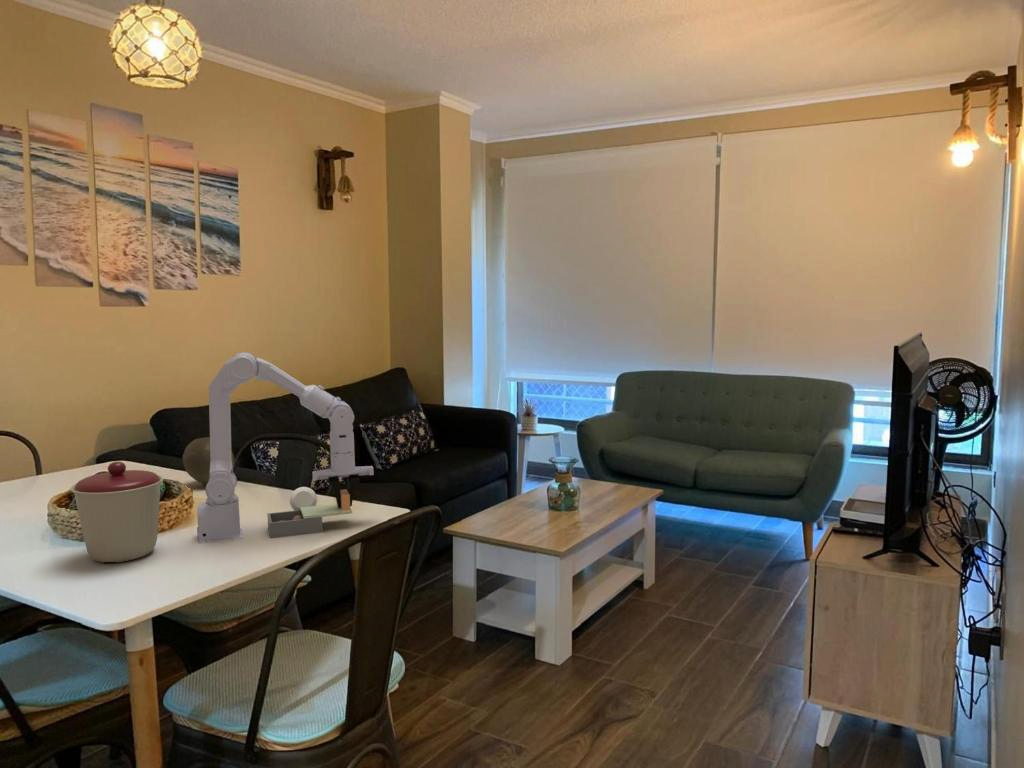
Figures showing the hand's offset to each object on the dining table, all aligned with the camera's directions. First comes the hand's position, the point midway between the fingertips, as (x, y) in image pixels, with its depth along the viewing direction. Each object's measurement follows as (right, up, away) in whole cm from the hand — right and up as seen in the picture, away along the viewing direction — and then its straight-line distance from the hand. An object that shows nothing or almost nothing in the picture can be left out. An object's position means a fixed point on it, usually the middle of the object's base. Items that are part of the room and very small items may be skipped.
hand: (344, 505), depth 189 cm
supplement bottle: (-14, -1, +14) cm, 19 cm away
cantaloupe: (-51, -1, +45) cm, 67 cm away
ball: (-11, -5, -2) cm, 12 cm away
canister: (-45, -8, -19) cm, 49 cm away
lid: (-4, -1, -1) cm, 5 cm away
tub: (-11, -6, -4) cm, 13 cm away
